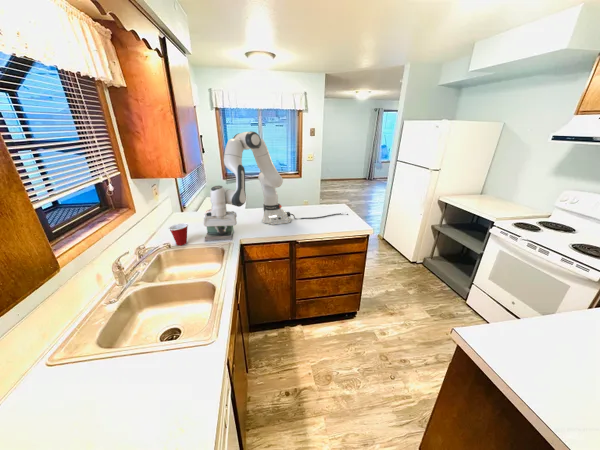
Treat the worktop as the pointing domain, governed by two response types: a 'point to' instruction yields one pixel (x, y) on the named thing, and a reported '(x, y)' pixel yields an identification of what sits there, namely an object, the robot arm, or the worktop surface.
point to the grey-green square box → (218, 234)
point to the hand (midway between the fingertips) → (221, 231)
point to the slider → (221, 230)
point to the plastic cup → (179, 233)
